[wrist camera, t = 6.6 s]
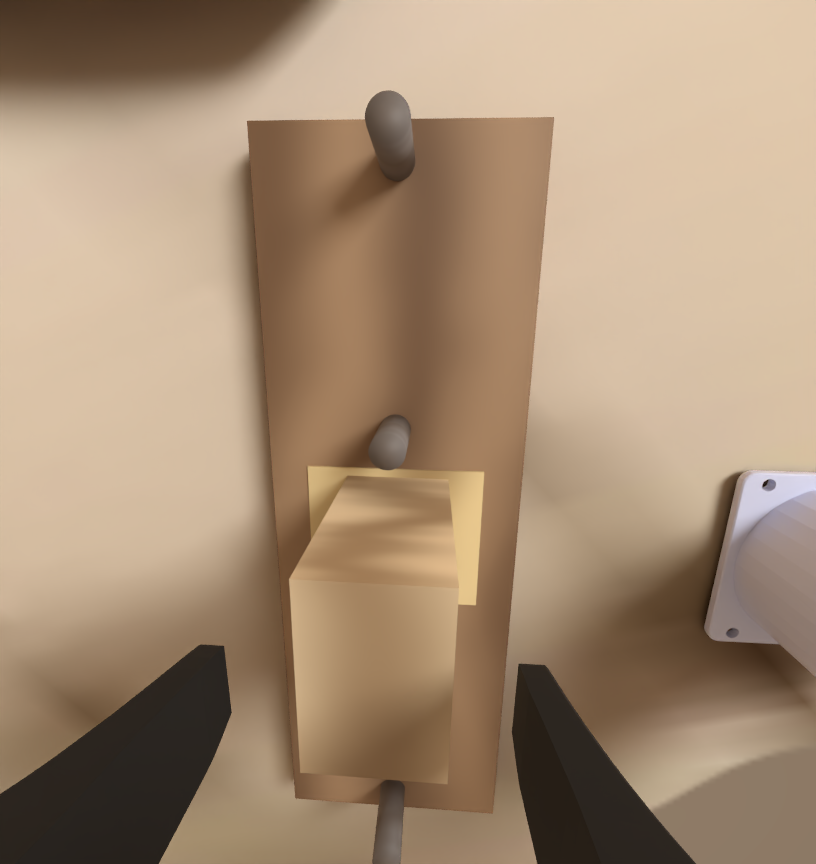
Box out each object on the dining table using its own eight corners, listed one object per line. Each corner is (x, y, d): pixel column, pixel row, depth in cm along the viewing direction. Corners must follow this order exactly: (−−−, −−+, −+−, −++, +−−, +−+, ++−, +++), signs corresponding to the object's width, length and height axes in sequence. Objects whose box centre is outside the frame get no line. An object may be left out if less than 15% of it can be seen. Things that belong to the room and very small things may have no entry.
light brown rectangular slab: (448, 479, 16) (458, 588, 10) (442, 610, 18) (447, 784, 11) (343, 475, 17) (282, 578, 10) (346, 605, 18) (294, 772, 11)
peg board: (542, 137, 15) (588, 59, 10) (488, 781, 22) (502, 892, 18) (264, 140, 15) (197, 66, 11) (304, 768, 23) (273, 873, 18)
